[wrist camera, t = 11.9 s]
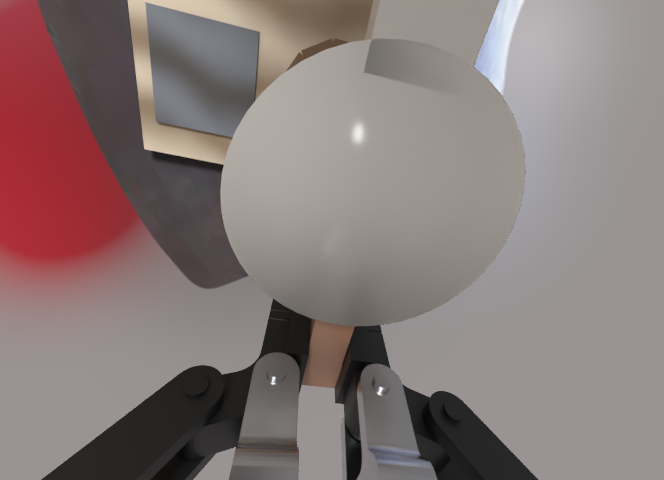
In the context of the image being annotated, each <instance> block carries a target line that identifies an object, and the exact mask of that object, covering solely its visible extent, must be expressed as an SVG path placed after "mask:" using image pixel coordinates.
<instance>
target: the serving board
mask: <svg viewBox="0 0 664 480" xmlns="http://www.w3.org/2000/svg"><path fill="white" fill-rule="evenodd" d="M372 4H373V0H128V7H129V16H130V25H131V34H132V43H133V52H134V61H135V70H136V79H137V87H138V96H139V105H140V114H141V123H142V132H143V141H144V149H146V150H151V151H156V152H161V153H166V154H172V155H177V156H182V157H187V158H192V159H197V160H202V161H207V162H212V163H218V164H223V165H224V162H225V158H226V154H227V151H228V148H229V146H230V143H231V141H232V138H233V136H234V133H235V131H236V129H237V127H238V126H239V124H240V122H241V121H242V119H243V117H244V115H245V114H246V112H247V111H248V109H249V108H250V107H251V106H252V104H253V103H254V102H255V101H256V99H257V98H258V97H259V96H260V94H261V93H262V92H263V91H264V90H265V89H266V88H267V87H268V86H270V85H271V84H272V83H273V82H274V81H275V80H276V79H277V78H278V77H279V76H280V75H282V74H283V73H285V72H286V71H288V70H289V69H291V68H292V67H294V66H295V65H296V64H298V63H299V62H301V61H303V60H305V59H307V58H309V57H311V56H313V55H315V54H317V53H319V52H321V51H323V50H326V49H329V48H332V47H336V46H339V45H342V44H346V43H349V42H355V41H362V40H365V36H366V32H367V27H368V22H369V18H370V13H371V9H372Z"/></svg>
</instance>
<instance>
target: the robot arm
mask: <svg viewBox="0 0 664 480" xmlns="http://www.w3.org/2000/svg"><path fill="white" fill-rule="evenodd" d="M310 325H311V318H309V317H306V316H304V315H301V314H299V313H296V312H295V311H293V310H291V309H289V308H287V307H285V306H283V305H282V304H280V303H279V302H277V301H276V300H275V299H273V302H272V306H271V311H270V315H269V319H268V324H267V328H266V333H265V337H264V342H263V346H262V350H261V354H260V356H259V358H258V359H257V360H256V361H255V362H254V363H253V364H252V365H251V366H250V367H248V368H246V369H244V370H241V371H238V372H234V373H229V374H223V375H222V374H221V373H220V372H219V371H218V370H217V369H215V368H213V367H211V366H204V365H201V366H195V367H191V368H189V369H187V370H185V371H183V372H182V373H180V374H179V375H177V376H176V377H175V378H174V379H172V380H171V381H170V382H168V383H167V384H166V385H165V386H163V387H162V388H160V390H158V391H157V392H155V393H154V394H153V395H151V396H150V397H149V398H147V399H146V400H145V401H143V402H142V403H141V404H140V405H138V406H137V407H136V408H134V409H133V410H132V411H131V412H129V413H128V414H126V416H124V417H123V418H121V419H120V420H119V421H117V422H116V423H115V424H114V425H112V426H111V427H110V428H108V429H107V430H106V431H104V432H103V433H102V434H101V435H99V436H98V437H96V438H95V439H94V440H93V441H91V442H90V443H89V444H87V445H86V446H85V447H83V448H82V449H81V450H80V451H78V452H77V453H76V454H74V455H73V456H72V457H70V458H69V459H68V460H67V461H65V462H64V463H63V464H61V465H60V466H59V467H57V468H56V469H55V470H53V471H52V472H51V473H50V474H48V475H47V476H46V477H44V478H43V479H42V480H193V479H194V478H195V477H196V475H198V473H199V472H200V471H201V470H202V469H203V468H204V467H205V465H206V464H207V463H208V462H209V461H210V460H211V459H212V457H213V456H214V455H215V454H216V453H218V452H221V451H224V450H227V449H231V448H234V447H236V450H235V455H234V459H233V463H232V468H231V473H230V477H229V480H298V472H299V470H298V469H299V450H298V447H297V420H298V418H297V417H298V399H299V392H300V388H301V385H302V381H303V377H304V373H305V369H306V365H307V361H308V357H309V346H310ZM335 403H340V404H344V414H345V415H344V417H343V419H342V423H341V440H342V474H343V480H538V479H537V478H536V477H535V476H534V475H533V474H532V473H531V472H530V471H529V470H528V469H527V468H526V467H525V465H523V463H522V462H521V461H520V460H519V459H518V458H517V457H516V456H515V455H514V454H513V453H512V452H511V451H510V450H509V449H508V448H507V447H506V446H505V445H504V444H503V443H502V442H501V441H500V440H499V438H498V437H497V436H496V435H495V434H494V433H493V432H492V431H491V430H490V429H489V428H488V427H487V426H486V425H485V424H484V423H483V422H482V421H481V420H480V419H479V418H478V417H477V416H476V415H475V414H474V413H473V411H472V410H471V409H470V408H469V407H468V406H467V405H466V404H464V402H463V401H462V400H460V399H459V398H458V397H457V396H455V395H453V394H451V393H449V392H445V391H438V392H435V393H434V394H432V396H431V397H430V398H429V397H427V396H425V395H423V394H420V393H418V392H415V391H413V390H411V389H409V388H407V387H405V386H404V385H403V384H402V382H401V380H400V378H399V377H398V375H397V374H396V373H395V372H394V371H393V370H392V369H391V368H390V365H389V361H388V357H387V352H386V348H385V344H384V340H383V336H382V334H381V327H380V325H375V326H355V328H354V331H353V334H352V336H351V339H350V342H349V345H348V348H347V351H346V354H345V357H344V360H343V363H342V368H341V371H340V374H339V377H338V380H337V383H336V385H335Z"/></svg>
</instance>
